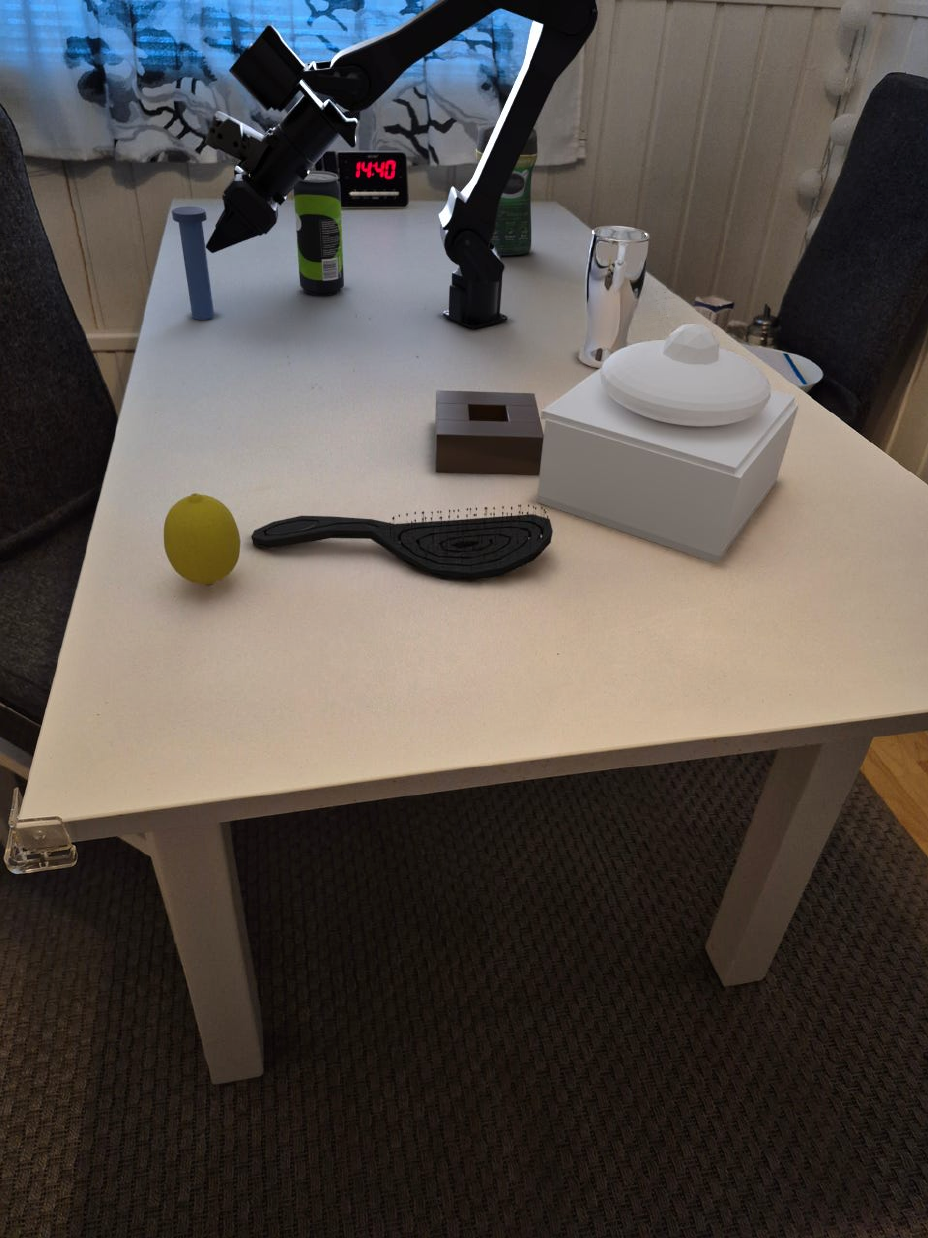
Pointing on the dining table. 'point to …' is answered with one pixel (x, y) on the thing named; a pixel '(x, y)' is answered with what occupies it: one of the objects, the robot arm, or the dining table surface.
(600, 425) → the white lidded box
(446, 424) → the stand
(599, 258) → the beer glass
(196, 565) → the lemon
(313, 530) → the hairbrush
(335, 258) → the beverage can
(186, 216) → the peg
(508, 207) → the coffee jar
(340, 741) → the dining table surface
